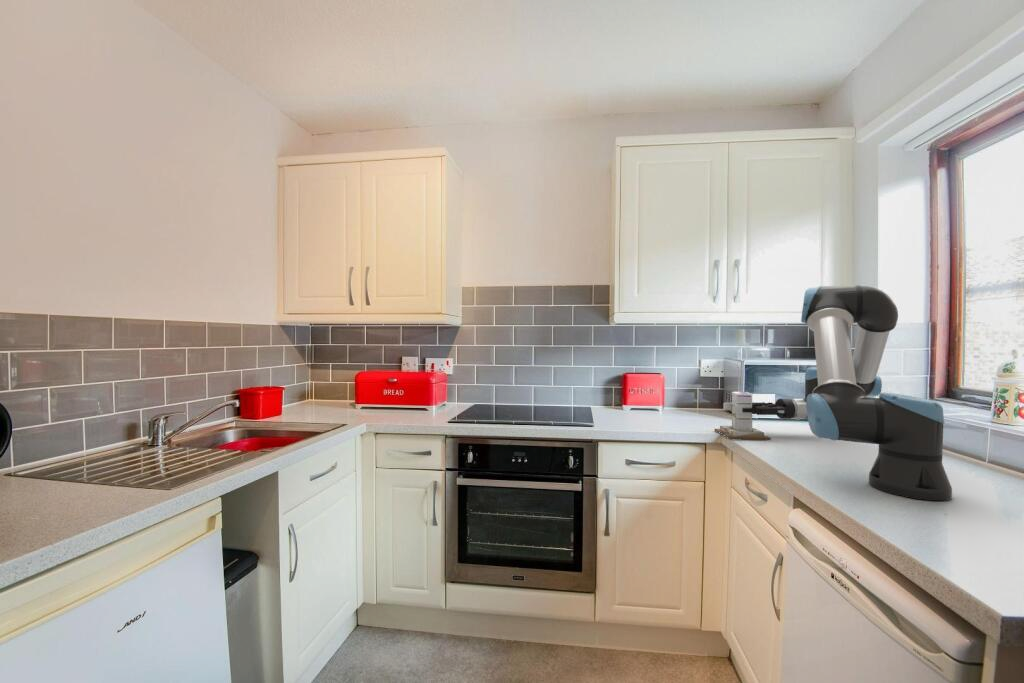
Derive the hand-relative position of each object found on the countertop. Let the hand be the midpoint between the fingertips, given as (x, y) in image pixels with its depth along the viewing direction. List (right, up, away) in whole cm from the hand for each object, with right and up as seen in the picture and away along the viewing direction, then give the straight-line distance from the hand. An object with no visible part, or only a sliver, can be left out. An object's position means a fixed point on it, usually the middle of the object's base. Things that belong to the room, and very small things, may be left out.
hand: (728, 407), depth 164 cm
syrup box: (+5, -9, 0) cm, 10 cm away
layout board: (+5, -11, 0) cm, 12 cm away
